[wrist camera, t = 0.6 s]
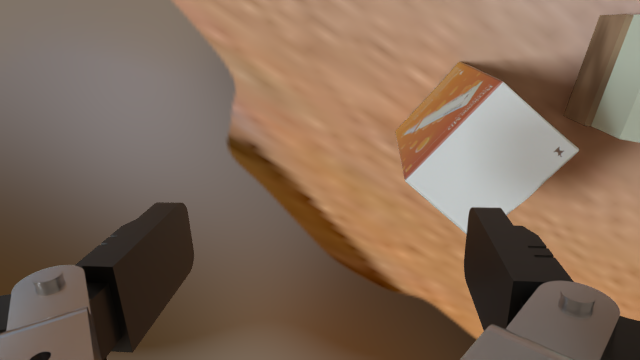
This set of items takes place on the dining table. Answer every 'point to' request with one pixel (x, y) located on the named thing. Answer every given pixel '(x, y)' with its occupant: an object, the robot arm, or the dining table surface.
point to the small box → (478, 146)
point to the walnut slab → (597, 67)
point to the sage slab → (623, 91)
